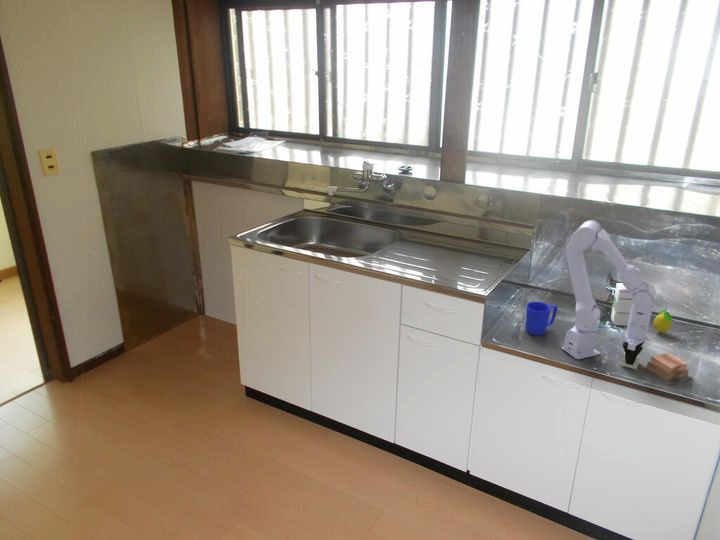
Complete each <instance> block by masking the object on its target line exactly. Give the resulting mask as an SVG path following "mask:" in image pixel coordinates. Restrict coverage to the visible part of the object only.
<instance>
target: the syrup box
mask: <svg viewBox="0 0 720 540" xmlns="http://www.w3.org/2000/svg"><path fill="white" fill-rule="evenodd" d="M632 297H633V295H632V294H631V293H629V291H628V290H627V289H626V287H625V286H624V285H623V283H622V282H621V283H619V282H616V286H615V290H614V297H613V302H612V307H611V312H610V319H611V321H612V324H613V325H615V326H622V327H627V326H628V321H629V317H630V312H631V307H632V306H633V301H632Z"/></svg>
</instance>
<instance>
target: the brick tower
mask: <svg viewBox="0 0 720 540" xmlns="http://www.w3.org/2000/svg"><path fill="white" fill-rule="evenodd" d="M687 367H688V362H686V361H684V360H682V359H680V358H679V357H678V356H675V355H674V354H672V353H670V352H665V353H662V354H661V353H660V354H657V355H654V356H651V357H650V361H648V362H647V363H646V366H641V367H640V368H641V370H642V371H643V372H644V373H647V374H649V375H650V376H651V377H653V378H654V379H657V381H659V382H661V383H662V382H663V383H662V384H664V383H665V384H664V385H666V386H667V385H669V386H671V385H675V384H680V383H683V382H687V381H690V380H693V377H692V376H691V375H689V371H690V370H689V369H687Z"/></svg>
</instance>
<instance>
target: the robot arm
mask: <svg viewBox="0 0 720 540" xmlns="http://www.w3.org/2000/svg"><path fill="white" fill-rule="evenodd" d="M590 246H591V248H590V249H591V250H594V251H601V252H602V254H604V256H605V257H606V258H607V260H608V261H609V262H610V263H611V264H612V266H614V268H615V269H616V270H617V274H616V276H617V278H618V280H619V281H620V282H621V283H623V285H624V286H625V287H626V289H627V290H628V291H629V293H631V294H632V295H633V297H632V301H633V306H632V307H631V312H630V317H629V321H628V326H626V331H625V332H624V335H625V336H624V337H625V339H626V341H623V342H622V347H623V350H624V352H625V362H626V364H630V365H633V364H634V362H635V359H636V357H637V355H638V354H639V353H640V352H641V353H642V351H643V349H644V347H642V346H643V344H644V343H645V342H650V340H651V336H647V335H648V330H649V325H650V322H651V318H652V317H651V316H652V313H653V310H652V309H653V305H654V302H655V299H656V295H657V291H656V289H655V286H654V285H652V284H651V283H649V281H646V279H645V278H644V277H643V276H642V274H641V269H640V268H639V267H638V268H636V266H635V265H633V264H629V263H628V262H627V261H626V259H624V257H623V255H622V253H621V252H620V251H619V250H618V248H617V246H616V245H615V244H614V242H613V241H612V238H610V236H609V234H608V232H607V231H606V230H605V229H604V228H602V225H601V224H600V223H599V222H598V221H596V220H593V219H591V220H589V219H588V220H585V221H584V222H583V223H582V224H581V225H579V227H578V228H576V229H575V231H574V232H573V233H572V234H571V235H570V239H569V240H568V243H567V245H566V248H565V251H564V252H565V257H566V260H567V261H566V262H567V265H568V271H569V275H570V280H571V284H572V289H573V294H574V297H575V298H574V299H575V303H576V304H575V319H574V326H573V327H572V328H570V329H568V330H567V331H566V333H565V337H564V343H563V346H562V347H561V349H562V350H563V351H565V352H566V353H567V354H569V355H570V356H572V357H573V358H575V359H576V360H581V359H585V358H590V357H594V356H599V355H600V354H601V353H600V351H598V350H597V349H596V345H597V344H596V343H597V339H598V333H599V326H598V321H599V320H600V319H601V317H602V311H601V309H600V307H598V305H597V302H596V300H595V298H594V297H593V294H592V293H593V292H592V289H591V284H590V280H589V275H588V274H589V273H588V270H587V266H586V265H587V264H586V259H585V257H584V256H585V255H584V251H585V250H587V248H589V247H590Z"/></svg>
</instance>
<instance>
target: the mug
mask: <svg viewBox="0 0 720 540" xmlns="http://www.w3.org/2000/svg"><path fill="white" fill-rule="evenodd" d="M552 309H553V310H552ZM551 310H552V314H551ZM525 312H526V313H525V331H526V332H527V333H528V334H531V335H534V336H542V335H544V334H545V333H546V331H547V327H548V326H551V325H552V324H553V323H554V321H555V319H556V315H557V312H558V306H557V305H556V304H552V305H549V304H547V303H546V302H541V301H531V302H528V303H526V310H525ZM550 314H551V317H550ZM550 318H551V319H550ZM549 319H550V320H549Z"/></svg>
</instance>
